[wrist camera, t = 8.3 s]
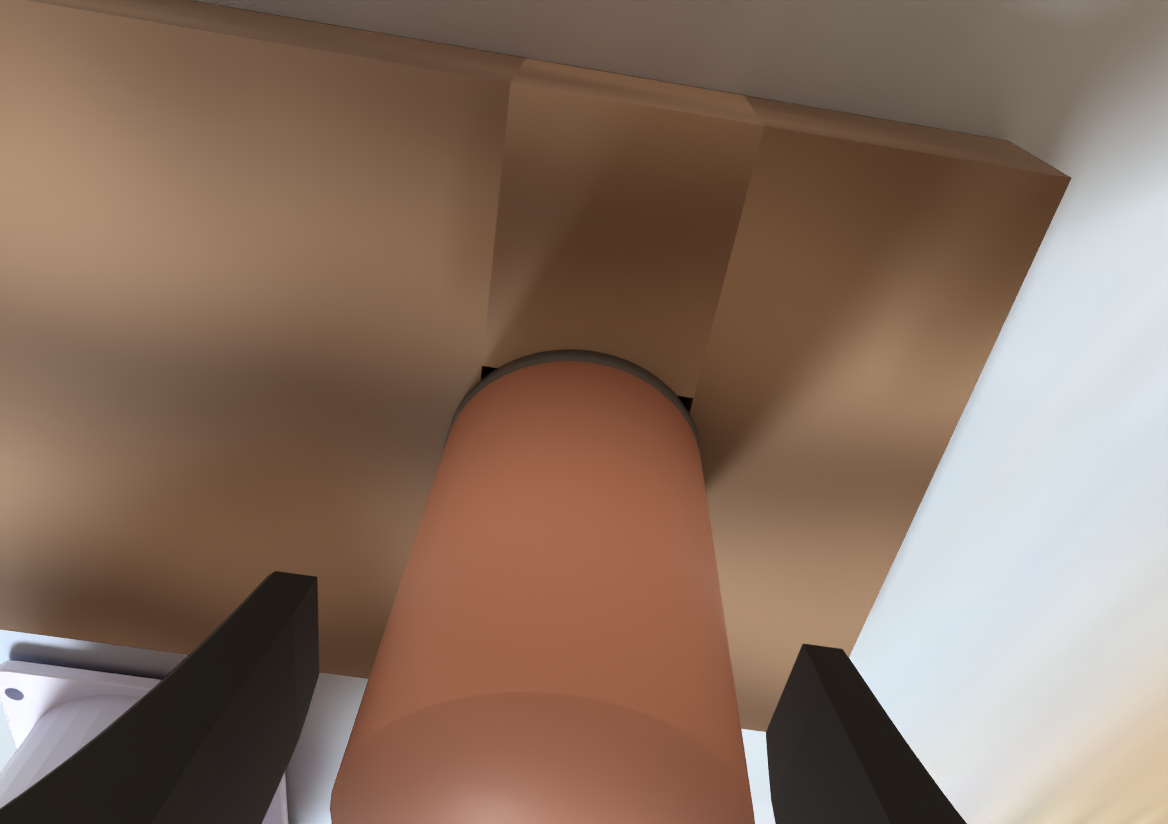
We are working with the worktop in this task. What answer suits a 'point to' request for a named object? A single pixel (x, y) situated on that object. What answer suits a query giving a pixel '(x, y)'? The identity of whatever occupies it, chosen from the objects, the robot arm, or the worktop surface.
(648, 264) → the board
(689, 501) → the peg
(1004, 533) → the worktop surface
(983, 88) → the worktop surface
